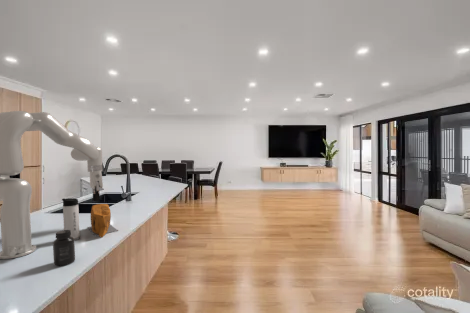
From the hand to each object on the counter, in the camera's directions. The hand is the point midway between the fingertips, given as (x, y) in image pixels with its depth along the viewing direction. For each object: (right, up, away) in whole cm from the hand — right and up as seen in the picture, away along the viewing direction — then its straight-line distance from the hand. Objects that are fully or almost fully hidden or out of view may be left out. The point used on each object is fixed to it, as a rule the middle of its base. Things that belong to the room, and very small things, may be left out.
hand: (96, 200), depth 148 cm
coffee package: (+4, -7, -4) cm, 9 cm away
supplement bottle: (+15, -16, -50) cm, 54 cm away
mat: (+8, -14, -9) cm, 19 cm away
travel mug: (+1, -15, -24) cm, 28 cm away
